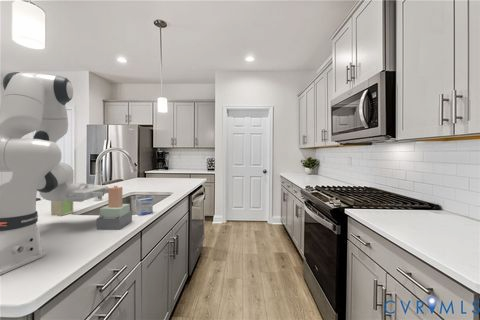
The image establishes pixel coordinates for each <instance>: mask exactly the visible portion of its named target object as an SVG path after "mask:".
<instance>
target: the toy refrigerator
mask: <svg viewBox="0 0 480 320" xmlns="http://www.w3.org/2000/svg"><path fill="white" fill-rule="evenodd" d="M73 213H74V202H70V201H50V214H51V216H55V215H57V217H62V216H66V215H70V214H73Z"/></svg>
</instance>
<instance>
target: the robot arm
mask: <svg viewBox="0 0 480 320" xmlns="http://www.w3.org/2000/svg"><path fill="white" fill-rule="evenodd" d="M2 87H3V89H4V93H3V95H2V99H1V104H0V173H1V172H2V173H6V172H7V173H8V172H9V173H12V176H11V178H10V180H9V181H7V182H4V183H2V184H0V276H1V275H4V274H6V273H9V272H11V271H13V270H15V269H17V268H20V267H22V266H24V265H27V264H29V263H32V262H33V261H36V260H39V259H40V258H42V257H45V255H46V252H45V251H44V250H43V249H42V248H43V246H42V239H41V232H40V230H39V228H38V225H37V222H38V221H39V220H38V218H39V214H38V211H37V194H38V192H39V195H40V197H41V199H44V200H46V201H49V202H51V201H70V202H73V203H74V202H77V203H78V202H80V203H83V202H84V201H87V200H91V199H93V198H97V197H98V198H99V197H104V196H105V195H106V194H108V188H109V186H108V185H103V184H101V185H100V184H93V183H84V182H74V170H73V168H72V167H71V166H70V165H69V164H68V163H64V162H61V161H62V151H61V148H60V147H59V145H58V144H57V142H58V141H59V140H61V138H63V137H64V136H65V135H66V134H67V133H68V130H69V119H68V111H67V107H66V104H67V103H70V101H71V100H72V99H73V96H74V88H73V84H72V82H71V81H70V80H69V79H68V78H67V77H64V76H62V75H51V74H44V73H40V72H20V71H14V72H13V71H12V72H8V73H7V74H6V75H5V76H4V77H3V80H2ZM33 132H35V133H34V136H32V137H33V138H23V137H24V136H25V135H29V134H31V133H33Z"/></svg>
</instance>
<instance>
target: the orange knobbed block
mask: <svg viewBox="0 0 480 320" xmlns="http://www.w3.org/2000/svg"><path fill="white" fill-rule="evenodd" d="M107 196H108V197H107V199H108V201H107V202H108V203H107V206H108V207H120V206H122V204H123V186H118V185H113V186H111V187H108V193H107Z"/></svg>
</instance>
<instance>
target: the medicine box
mask: <svg viewBox="0 0 480 320" xmlns="http://www.w3.org/2000/svg"><path fill="white" fill-rule="evenodd" d="M153 200H154V198H152V197H147V198H146V197H145V198H138V199H135V214H136V215H137V216H140V217H141V216H145V215H150V214H153V205H154V201H153Z"/></svg>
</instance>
